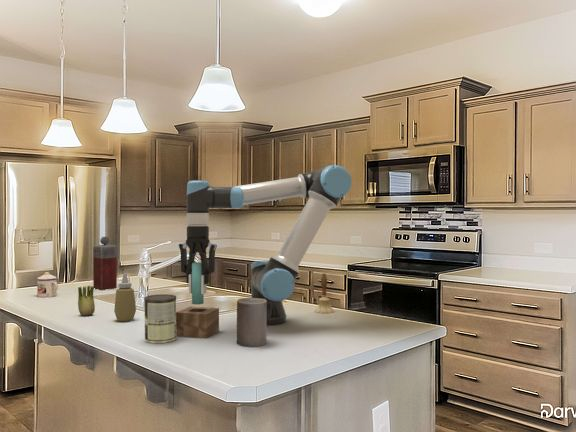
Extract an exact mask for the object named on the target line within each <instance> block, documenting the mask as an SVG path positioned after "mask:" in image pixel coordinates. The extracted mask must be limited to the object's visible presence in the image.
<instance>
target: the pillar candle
mask: <svg viewBox="0 0 576 432" xmlns="http://www.w3.org/2000/svg"><path fill="white" fill-rule="evenodd" d="M266 318H267V301H266V300H265V299H261V298H252V296H250V297H245V298H244V297H243V298H239V299H237V300H236V342H235V343H236V344H237V345H239V346H242V347H249V348H251V347H253V348H254V347H259V346H263V345H265V344H266V343H267V325H266Z"/></svg>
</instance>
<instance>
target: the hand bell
mask: <svg viewBox="0 0 576 432" xmlns="http://www.w3.org/2000/svg"><path fill="white" fill-rule="evenodd" d="M320 284H321V289H322V290H321V292H322V293H321V295H322V296H321V297H320V298H318V299H319V300H318V304H317V307H316V308H315V309H314V313H317V314H332V313H334V312H335V310H334V309H333V307H332V305H331V301H330V300H331V299H330V298H329V297H328V296H327V286H328V279H327V274H326V273H322V275H321V278H320Z"/></svg>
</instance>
